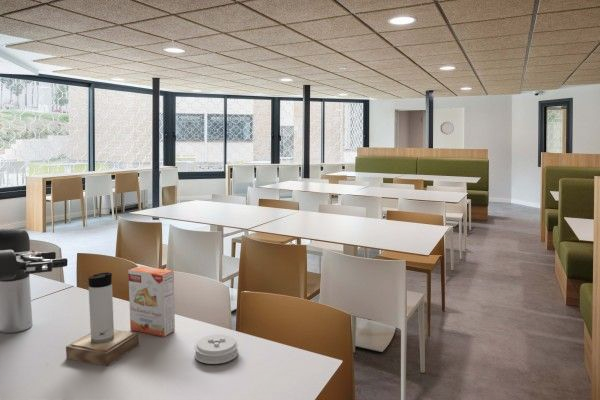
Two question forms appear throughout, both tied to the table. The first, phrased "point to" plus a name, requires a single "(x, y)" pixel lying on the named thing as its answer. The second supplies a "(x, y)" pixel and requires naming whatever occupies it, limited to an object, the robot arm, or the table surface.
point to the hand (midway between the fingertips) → (60, 258)
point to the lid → (216, 349)
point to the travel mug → (101, 307)
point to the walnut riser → (102, 348)
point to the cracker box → (151, 300)
